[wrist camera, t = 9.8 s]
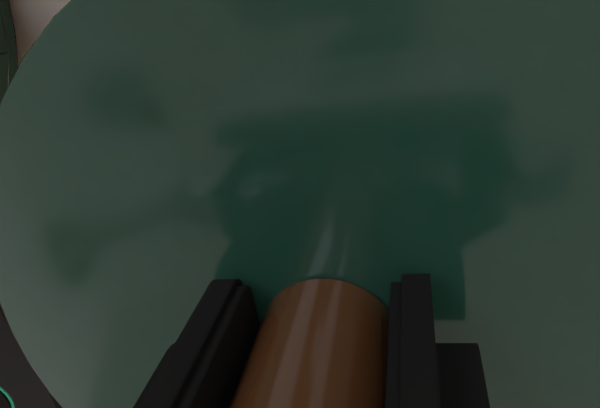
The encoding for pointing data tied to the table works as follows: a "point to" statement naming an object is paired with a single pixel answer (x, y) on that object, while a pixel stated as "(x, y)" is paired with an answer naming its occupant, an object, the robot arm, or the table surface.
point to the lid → (306, 191)
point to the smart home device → (19, 375)
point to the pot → (6, 48)
